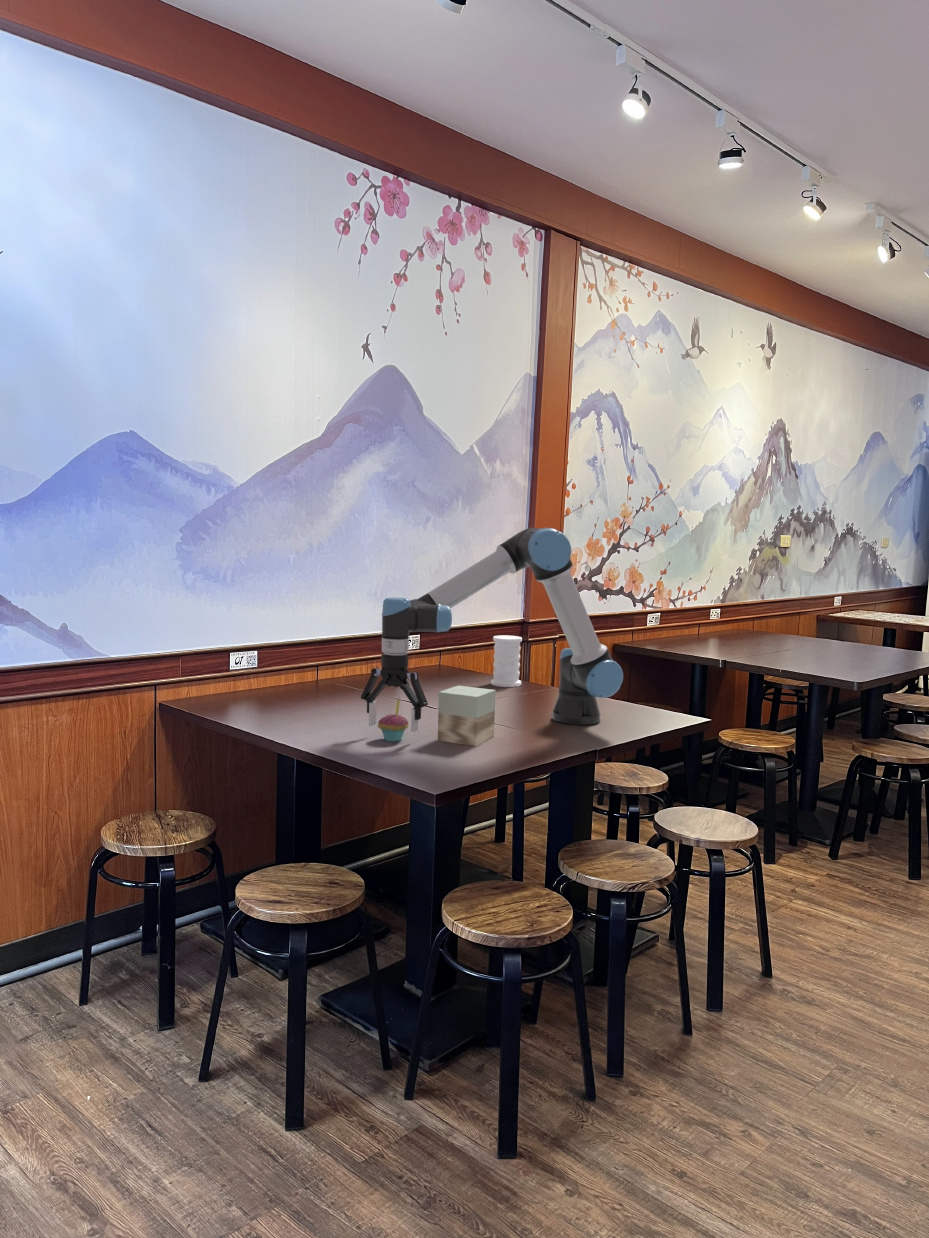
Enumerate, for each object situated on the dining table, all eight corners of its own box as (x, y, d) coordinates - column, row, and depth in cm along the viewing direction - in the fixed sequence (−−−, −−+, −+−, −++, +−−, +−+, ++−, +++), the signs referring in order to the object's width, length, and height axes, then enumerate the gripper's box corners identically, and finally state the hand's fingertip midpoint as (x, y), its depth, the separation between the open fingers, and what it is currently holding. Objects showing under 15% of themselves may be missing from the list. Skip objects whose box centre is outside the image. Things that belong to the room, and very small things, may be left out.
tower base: (493, 737, 265) (494, 710, 264) (476, 746, 255) (477, 718, 254) (456, 732, 270) (457, 705, 270) (437, 740, 260) (438, 713, 259)
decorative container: (487, 681, 354) (489, 635, 352) (517, 681, 356) (518, 635, 354) (494, 687, 343) (495, 639, 341) (524, 687, 345) (526, 639, 343)
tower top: (494, 710, 264) (495, 690, 264) (476, 718, 254) (477, 696, 253) (457, 705, 270) (458, 685, 269) (438, 712, 259) (438, 691, 258)
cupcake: (392, 734, 265) (393, 693, 263) (414, 739, 259) (415, 697, 258) (371, 739, 258) (372, 697, 257) (393, 745, 253) (394, 702, 252)
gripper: (349, 650, 258) (348, 724, 260) (428, 659, 247) (426, 736, 250) (363, 647, 265) (362, 719, 267) (440, 655, 254) (438, 730, 256)
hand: (393, 728), depth 258 cm, fingers open, 13 cm apart
